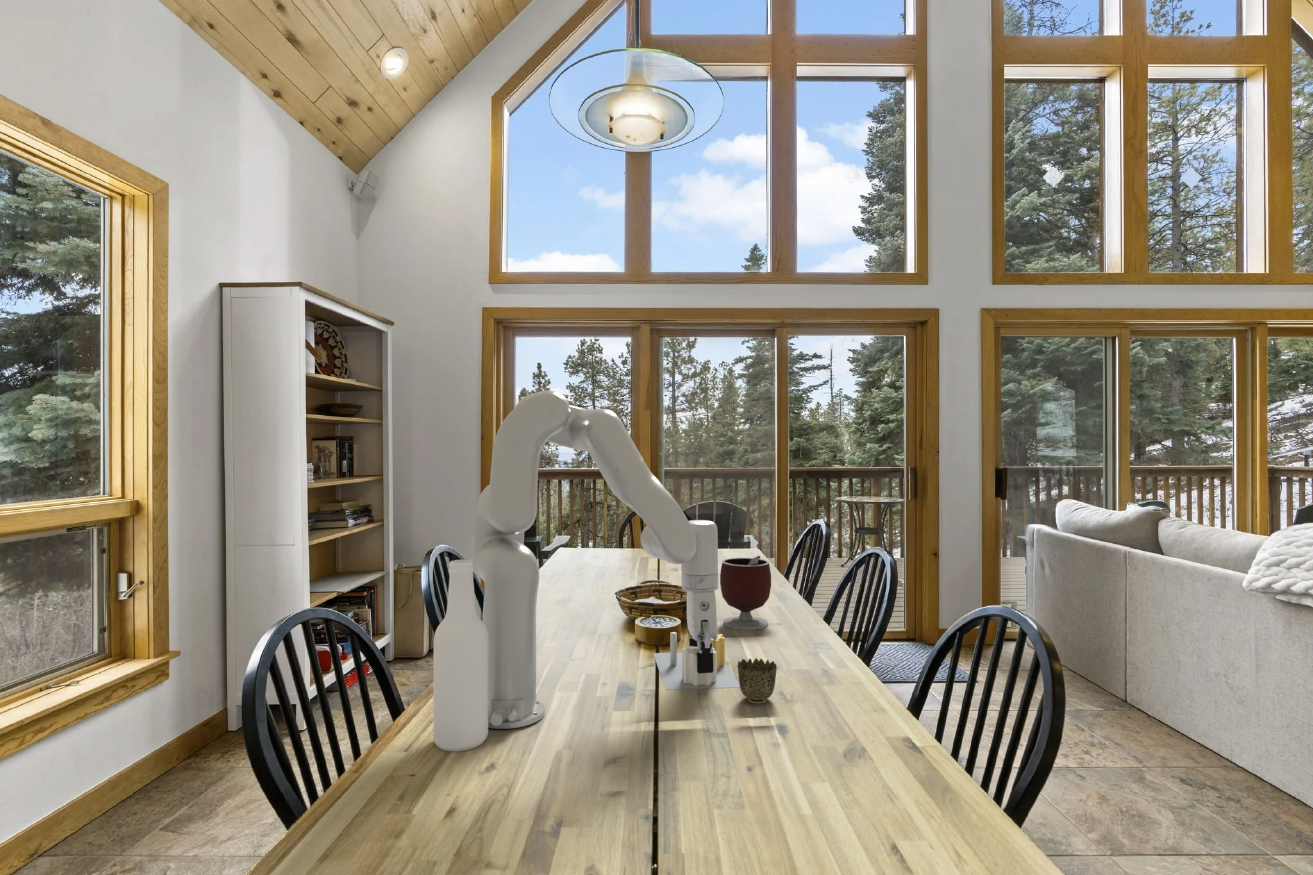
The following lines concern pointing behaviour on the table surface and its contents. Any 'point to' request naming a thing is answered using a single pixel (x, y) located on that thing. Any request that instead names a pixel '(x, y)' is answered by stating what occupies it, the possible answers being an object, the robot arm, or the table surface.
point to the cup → (757, 679)
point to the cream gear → (691, 668)
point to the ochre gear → (719, 649)
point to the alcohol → (460, 667)
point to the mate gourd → (745, 590)
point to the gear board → (673, 671)
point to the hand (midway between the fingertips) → (701, 664)
